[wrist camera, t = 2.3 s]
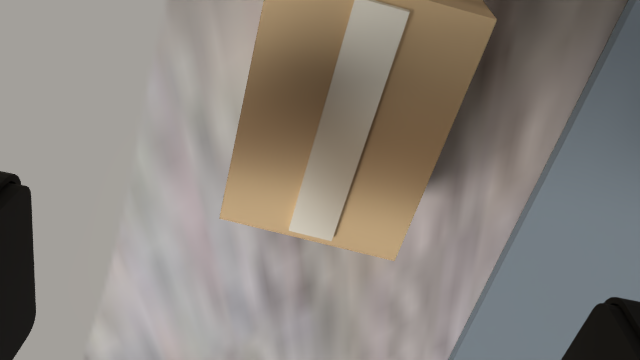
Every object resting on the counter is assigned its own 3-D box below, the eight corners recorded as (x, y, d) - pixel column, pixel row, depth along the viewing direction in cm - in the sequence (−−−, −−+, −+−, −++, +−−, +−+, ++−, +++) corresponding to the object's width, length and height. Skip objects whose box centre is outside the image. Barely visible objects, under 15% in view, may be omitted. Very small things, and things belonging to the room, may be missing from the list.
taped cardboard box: (291, -71, 15) (271, -43, 12) (467, -21, 16) (498, 22, 12) (244, 149, 19) (217, 222, 15) (388, 185, 19) (395, 265, 16)
